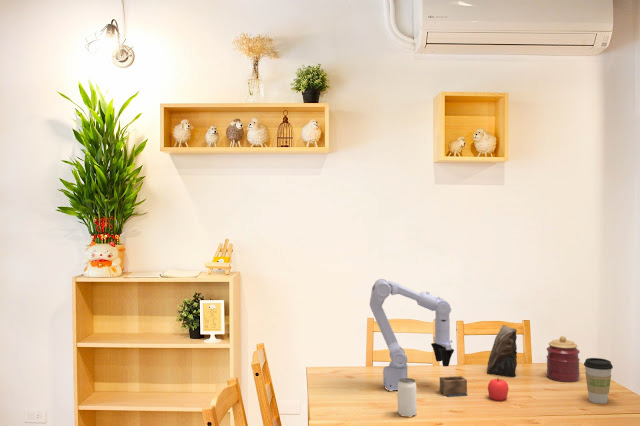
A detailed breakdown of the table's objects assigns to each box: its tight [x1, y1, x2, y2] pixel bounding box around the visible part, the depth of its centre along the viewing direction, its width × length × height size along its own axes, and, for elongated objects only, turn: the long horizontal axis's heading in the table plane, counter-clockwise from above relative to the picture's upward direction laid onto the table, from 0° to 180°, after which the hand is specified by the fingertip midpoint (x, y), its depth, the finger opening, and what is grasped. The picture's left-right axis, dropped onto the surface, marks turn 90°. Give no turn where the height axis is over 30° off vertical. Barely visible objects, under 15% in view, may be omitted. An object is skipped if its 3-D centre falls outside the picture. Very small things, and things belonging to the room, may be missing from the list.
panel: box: [441, 392, 468, 398], centre depth 231 cm, size 8×8×4 cm
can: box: [397, 377, 417, 417], centre depth 208 cm, size 6×6×12 cm
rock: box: [486, 324, 518, 378], centre depth 257 cm, size 13×13×20 cm
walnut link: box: [439, 375, 468, 395], centre depth 231 cm, size 9×6×5 cm, turn 99°
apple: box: [487, 377, 510, 402], centre depth 224 cm, size 8×8×8 cm
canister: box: [546, 335, 581, 383], centre depth 250 cm, size 13×13×18 cm
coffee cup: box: [583, 357, 614, 405], centre depth 220 cm, size 10×10×15 cm
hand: (442, 363), depth 237 cm, fingers open, 7 cm apart
